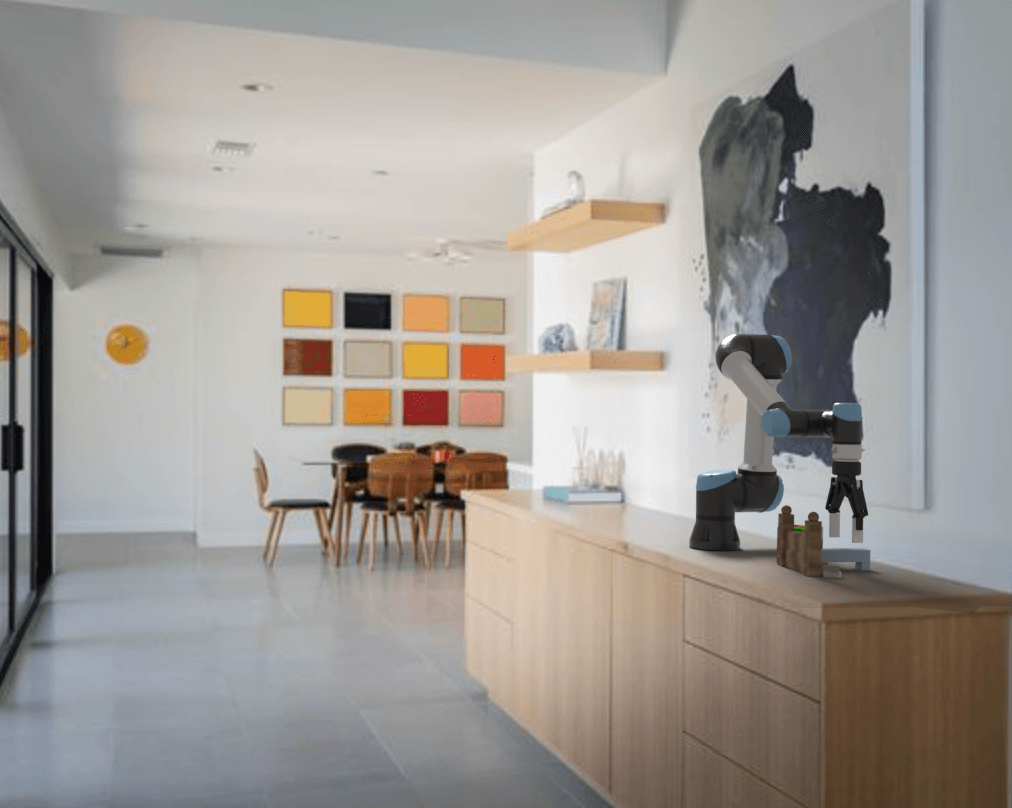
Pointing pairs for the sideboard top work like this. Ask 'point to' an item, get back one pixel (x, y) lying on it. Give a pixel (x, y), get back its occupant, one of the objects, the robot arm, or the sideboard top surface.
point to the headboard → (802, 546)
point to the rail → (847, 556)
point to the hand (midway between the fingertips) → (845, 540)
